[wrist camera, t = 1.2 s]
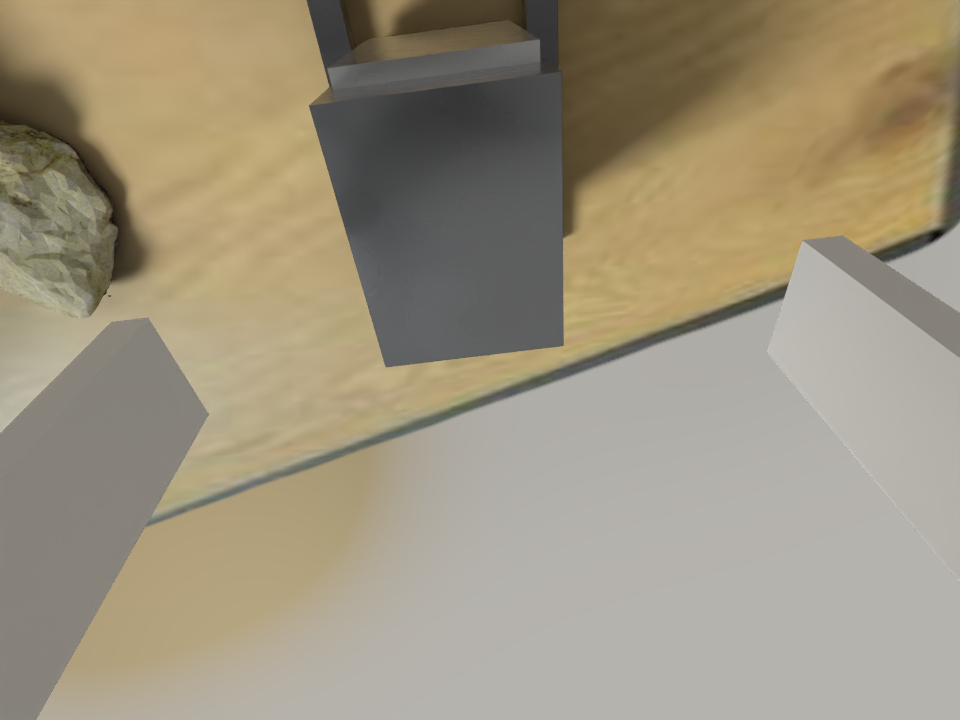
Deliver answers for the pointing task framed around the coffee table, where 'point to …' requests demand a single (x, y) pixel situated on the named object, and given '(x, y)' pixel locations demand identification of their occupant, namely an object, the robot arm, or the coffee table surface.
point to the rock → (52, 224)
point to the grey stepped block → (450, 188)
